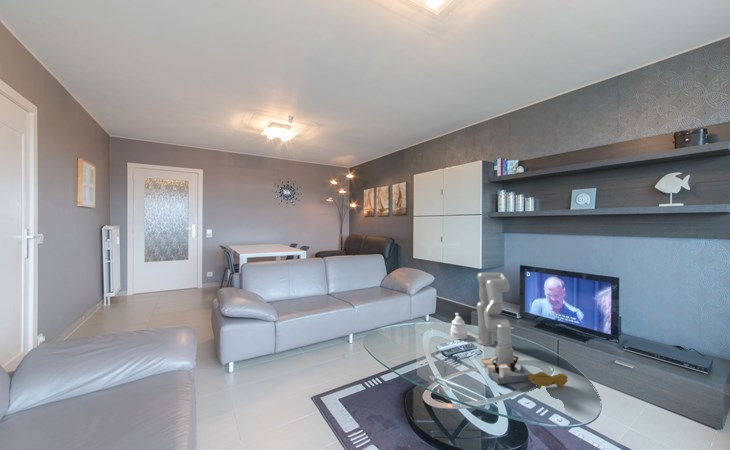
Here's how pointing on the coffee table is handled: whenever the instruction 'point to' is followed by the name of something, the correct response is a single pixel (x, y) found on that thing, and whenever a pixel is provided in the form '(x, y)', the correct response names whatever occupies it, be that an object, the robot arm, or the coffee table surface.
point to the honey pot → (458, 328)
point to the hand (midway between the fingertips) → (504, 371)
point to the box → (514, 378)
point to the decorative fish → (547, 379)
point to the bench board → (489, 364)
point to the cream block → (504, 371)
